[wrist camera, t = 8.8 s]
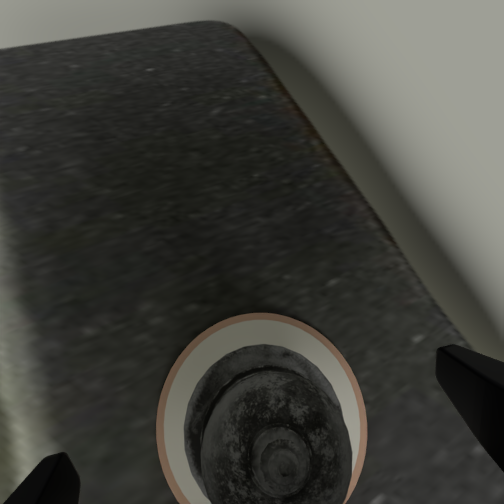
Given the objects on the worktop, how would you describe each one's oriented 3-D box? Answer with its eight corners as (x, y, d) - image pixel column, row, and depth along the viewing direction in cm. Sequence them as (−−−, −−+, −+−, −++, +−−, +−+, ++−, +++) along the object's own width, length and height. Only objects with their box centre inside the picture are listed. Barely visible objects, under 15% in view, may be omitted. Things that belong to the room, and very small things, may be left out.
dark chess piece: (352, 421, 16) (589, 471, 5) (262, 534, 14) (301, 1020, 3) (261, 329, 17) (277, 207, 6) (171, 420, 16) (-19, 468, 5)
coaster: (404, 404, 17) (412, 404, 16) (275, 608, 14) (277, 623, 13) (251, 278, 19) (251, 272, 19) (115, 427, 16) (107, 428, 16)
